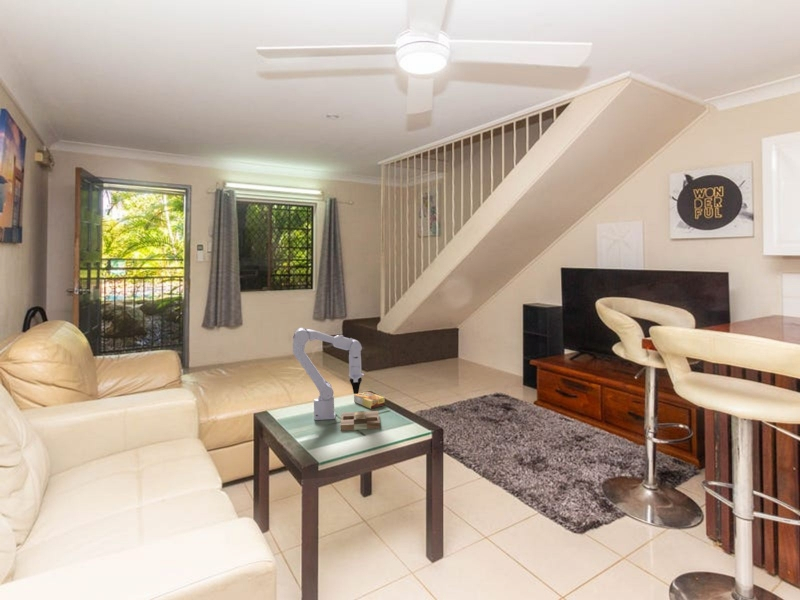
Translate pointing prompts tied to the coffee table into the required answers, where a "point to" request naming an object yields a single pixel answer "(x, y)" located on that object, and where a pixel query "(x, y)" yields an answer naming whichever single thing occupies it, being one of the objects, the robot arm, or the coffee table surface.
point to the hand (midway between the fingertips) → (356, 393)
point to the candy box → (369, 399)
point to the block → (360, 415)
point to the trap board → (360, 421)
